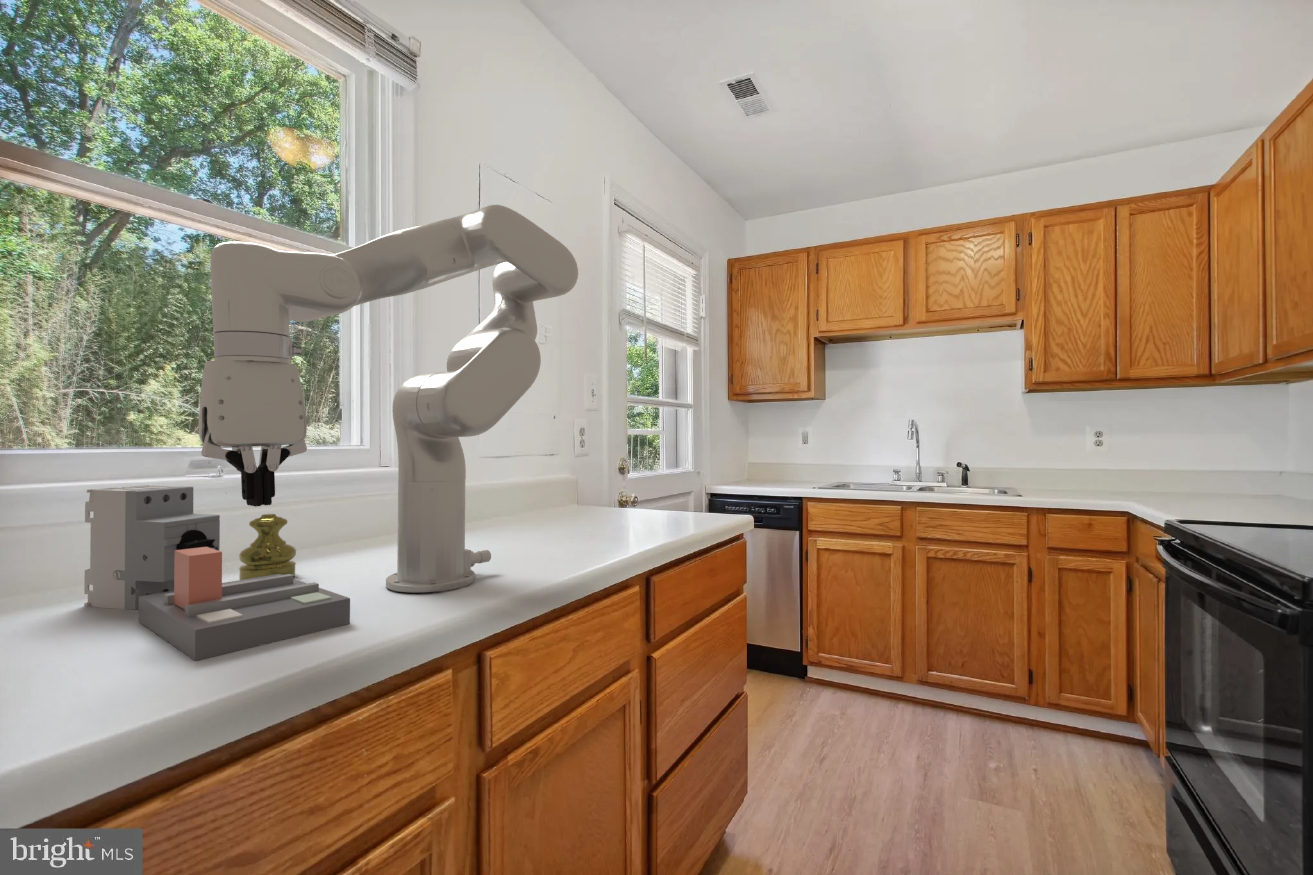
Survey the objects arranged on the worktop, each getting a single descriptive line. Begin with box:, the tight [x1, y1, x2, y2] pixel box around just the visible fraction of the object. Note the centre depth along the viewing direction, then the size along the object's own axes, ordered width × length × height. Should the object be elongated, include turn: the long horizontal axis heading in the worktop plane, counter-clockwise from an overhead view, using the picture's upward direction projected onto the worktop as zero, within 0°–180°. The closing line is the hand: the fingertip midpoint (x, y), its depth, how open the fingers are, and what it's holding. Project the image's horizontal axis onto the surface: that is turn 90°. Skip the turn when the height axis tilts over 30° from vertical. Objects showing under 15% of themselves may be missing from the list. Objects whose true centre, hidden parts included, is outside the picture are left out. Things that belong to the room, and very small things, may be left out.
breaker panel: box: [138, 574, 351, 661], centre depth 70 cm, size 15×20×4 cm
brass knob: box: [238, 513, 297, 580], centre depth 92 cm, size 7×8×10 cm
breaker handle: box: [174, 547, 223, 610], centre depth 67 cm, size 3×5×6 cm, turn 53°
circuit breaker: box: [83, 484, 221, 611], centre depth 79 cm, size 8×14×15 cm, turn 78°
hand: (259, 504), depth 72 cm, fingers closed
